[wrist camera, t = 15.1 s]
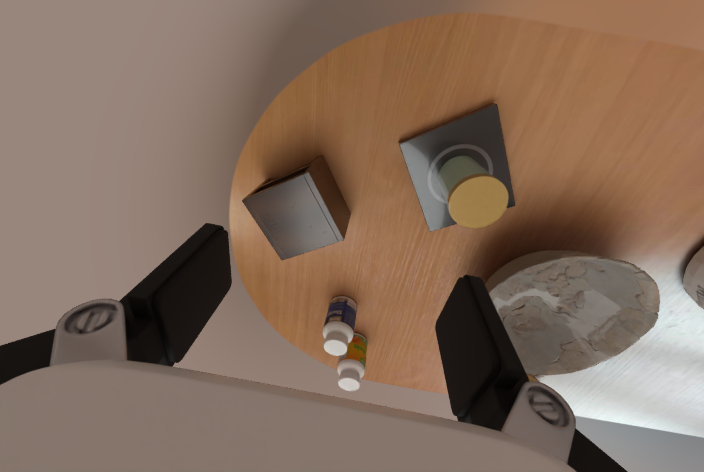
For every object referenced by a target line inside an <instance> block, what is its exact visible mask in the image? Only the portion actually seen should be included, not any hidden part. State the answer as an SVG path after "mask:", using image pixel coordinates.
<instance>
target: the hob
mask: <svg viewBox="0 0 704 472" xmlns="http://www.w3.org/2000/svg"><path fill="white" fill-rule="evenodd" d="M399 145H400V148H401V151H402V153H403V156H404V159H405V162H406V165H407V168H408V171H409V173H410V176H411V179H412V182H413V185H414V188H415V191H416V193H417V196H418V199H419V202H420V205H421V208H422V211H423V213H424V216H425V219H426V222H427V225H428V228H429V231H430V232H431V231H434V230H438V229H441V228H444V227H447V226H451V225H454V224H457V223H456V222H455V221H454V220H453V219H452V217H451V215H450V213H449V211H448V207H447V202H446V200H445V197H444V195H443V193H442V191H441V189H440V187H439V184H438V174H439V171H440V169H441V168H442V166H443V165H444V164H445V163H446V162H447V161H448V160H450V159H452V158H454V157H457V156H469V157H472V158H474V159H475V160H476V161H477V162H478V163H479V164H480V165H481V166H482V167H483V168H484V169H485V170H486V171H487V172H488V173H489V174H490V175H492V176H494V177H496V178H497V179H499V180H500V181H501V182H502V183H503V184H504V186H505V187H506V189H507V191H508V197H509V198H508V205H507V207H506V208H509V207H513V206H515V201H514V196H513V190H512V184H511V179H510V173H509V168H508V162H507V157H506V151H505V145H504V140H503V134H502V129H501V123H500V118H499V112H498V106H497V104H495V103H491V104H489V105H486V106H484V107H482V108H479V109H477V110H474V111H472V112H470V113H467V114H465V115H462V116H460V117H458V118H455V119H453V120H450V121H448V122H446V123H443V124H441V125H438V126H436V127H434V128H431V129H429V130H427V131H424V132H422V133H419V134H417V135H415V136H412V137H410V138H407V139H405V140H403V141H400V142H399Z"/></svg>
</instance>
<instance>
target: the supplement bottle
mask: <svg viewBox="0 0 704 472" xmlns="http://www.w3.org/2000/svg"><path fill="white" fill-rule="evenodd" d="M366 351H367V340H366V338H365V337H364V336H362V335H361V334H358V333H354V335H353V338H352V340H351V342H350V343H348V348H347V352H346V353H345V354H343V355H339V359H338V365H337V371H338V374H339V375H340V376H339V382H338V384H339V386H340V387H341V388H342V389H344V390H347V391H354V390H357V389H358V388H359V387H360V378H362V377H363V375H364V373H365V364H366Z"/></svg>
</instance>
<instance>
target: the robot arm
mask: <svg viewBox="0 0 704 472" xmlns="http://www.w3.org/2000/svg"><path fill="white" fill-rule="evenodd" d="M231 283H232V279H231V266H230V254H229V241H228V232H227V231H226V230H224V228H223V226H220V225H215V224H210V223H206V224H205V225H203V226H202V228H200V229H199V230H198V231H197V232H196V233H195V234H193V235H192V236H191V237H190V238H189V239H188V240H187V241H186V242H185V243H184V244H182V245H181V246H180V247H179V248H178V249H177V250H176V251H175V252H173V253H172V254H171V255H170V256H169V257H168V258H167V259H166V260H165V261H163V262H162V263H161V264H160V265H159V266H158V267H157V268H156V269H154V270H153V271H152V272H151V273H150V274H149V275H148V276H147V277H146V278H144V279H143V280H142V281H141V282H140V283H139V284H138V285H137V286H136V287H134V288H133V289H132V290H131V291H130V292H129V293H128V294H127V295H126V296H124V297H123V298H122V299H121V300H120V301H117V300H113V299H97V300H92V301H89V302H86V303H83V304H81V305H78V306H76V307H74V308H73V309H71V310H70V311H68V312H67V313H65V314H64V315H63V316H62V318H61V319H60V320H59V321H58V323H57V326H56V329H53V330H50V331H47V332H43V333H40V334H37V335H34V336H30V337H27V338H24V339H21V340H17V341H15V342H11V343H8V344H5V345H1V346H0V472H627V471H626V470H625V469H624V468H623V467H621V466H620V465H619V464H618V463H617V462H615V461H614V460H613V459H611V457H609V456H608V455H607V454H606V453H605V452H603V451H602V450H601V449H599V448H598V447H597V446H596V445H595V444H594V443H592V442H591V441H590V440H589V439H588V438H586V437H585V436H584V435H583V434H582V433H580V432H579V431H578V430H577V429H576V428H575V427H576V421H575V420H576V419H575V417H574V414H573V411H572V410H571V408H570V406H569V405H568V403H567V402H566V401H565V400H564V399H563V398H562V396H561V395H559V394H558V393H557V392H556V391H555V390H553V389H552V388H550V387H549V386H547V385H545V384H543V383H540V382H537V381H530V380H529V378H528V376H527V374H526V372H525V370H524V367H523V365H522V363H521V361H520V359H519V357H518V355H517V352H516V350H515V348H514V346H513V344H512V342H511V340H510V338H509V335H508V333H507V331H506V329H505V327H504V325H503V323H502V320H501V318H500V316H499V314H498V312H497V310H496V308H495V306H494V303H493V301H492V299H491V297H490V295H489V293H488V291H487V289H486V286H485V284H484V282H483V280H482V279H481V278H480V277H476V276H471V275H464V276H463V278H462V277H460V278H459V279H458V280H457V282H456V284H455V286H454V288H453V290H452V292H451V294H450V296H449V298H448V300H447V302H446V304H445V306H444V308H443V310H442V312H441V314H440V316H439V318H438V320H437V322H436V327H435V329H436V335H437V340H438V345H439V350H440V355H441V360H442V364H443V369H444V374H445V379H446V384H447V389H448V394H449V399H450V403H451V409H452V412H453V414H454V415H455V416H457V418H458V421H454V420H450V419H445V418H440V417H436V416H431V415H426V414H420V413H416V412H411V411H406V410H401V409H395V408H390V407H385V406H380V405H375V404H370V403H364V402H359V401H354V400H349V399H344V398H338V397H334V396H328V395H323V394H317V393H312V392H307V391H302V390H296V389H291V388H286V387H281V386H276V385H270V384H265V383H260V382H254V381H249V380H243V379H238V378H233V377H227V376H222V375H216V374H211V373H206V372H200V371H194V370H188V369H182V368H176V367H172V366H173V365H174V363H175V362H176V363H178V362H180V361H181V360H182V359H183V357H184V356H185V354H186V353H187V351H188V350H189V348H190V347H191V345H192V344H193V342H194V341H195V339H196V338H197V337H198V335H199V334H200V332H201V331H202V329H203V328H204V326H205V325H206V323H207V322H208V320H209V319H210V317H211V316H212V314H213V313H214V311H215V310H216V309H217V307H218V306H219V304H220V303H221V301H222V300H223V298H224V297H225V295H226V294H227V292H228V291H229V289H230V287H231Z"/></svg>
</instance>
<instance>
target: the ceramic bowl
mask: <svg viewBox="0 0 704 472" xmlns="http://www.w3.org/2000/svg"><path fill="white" fill-rule="evenodd" d="M485 286H486V289H487V291H488V293H489V295H490V297H491V299H492V301H493V303H494V306H495V308H496V310H497V312H498V314H499V316H500V318H501V320H502V323H503V325H504V327H505V329H506V331H507V333H508V335H509V338H510V340H511V342H512V344H513V346H514V348H515V350H516V352H517V355H518V357H519V359H520V361H521V363H522V365H523V367H524V370H525V372H526V374H533V375H557V374H566V373H572V372H576V371H580V370H583V369H587V368H589V367H592V366H595V365H597V364H599V363H601V362H603V361H606V360H608V359H610V358H612V357H614V356H617V355H618V354H620V353H621V352H623V351H624V350H626V349H627V348H628V347H630V346H631V345H633V344H634V343H635V342H636V341H638V340H639V339H640V337H642V336H643V335H644V334H646V333H647V332H648V331H649V330H650V329H651V328H652V327H654V325H655V323H656V321H657V319H658V314H657V313H658V312H659V304H660V296H659V290H658V287H657V285H656V283H655V281H654V280H653V279H652V278H651V277H650V276H649V275H648V274H647V273H646V272H645V271H643V270H640V268H638V267H637V266H635V265H634V264H631V263H629V262H626V261H623V260H619V259H615V258H610V257H606V256H602V255H597V254H591V253H585V252H576V251H558V250H547V251H539V252H534V253H529V254H526V255H523V256H521V257H518V258H516V259H514V260H512V261H511V262H509V263H507V264H505V265H504V266H502V267H501V268H499V269H498V270H497V271H496V272H495V273H494V274H493V275H492V276H491V277H490V278H489V280H488V281H487V282H486V284H485Z"/></svg>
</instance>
